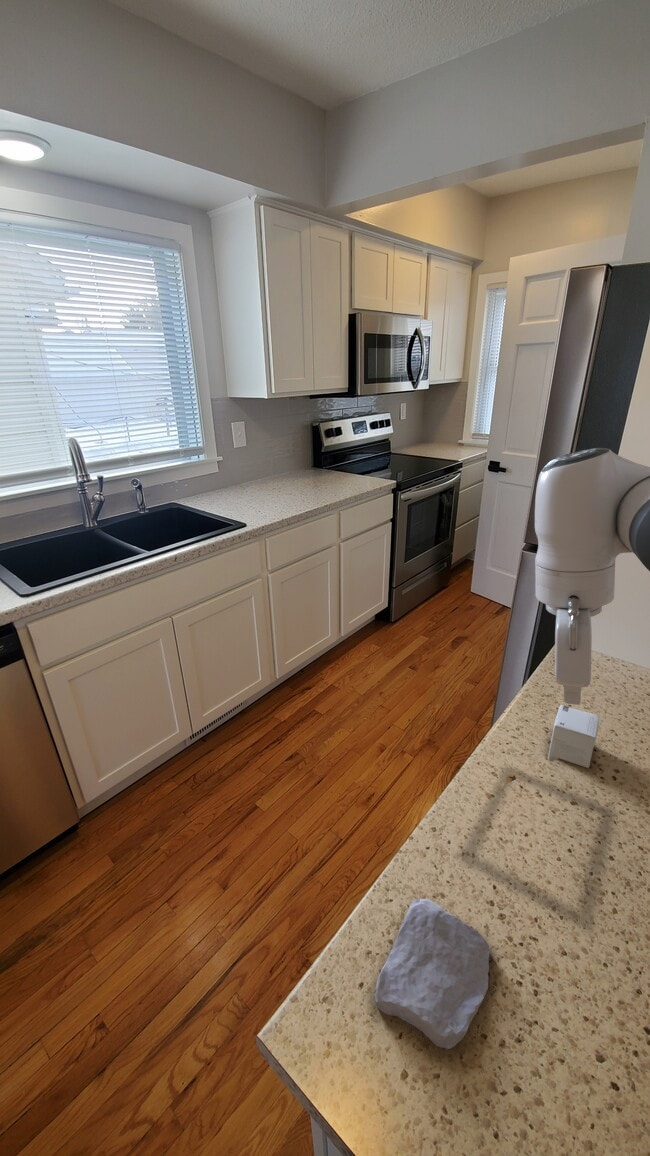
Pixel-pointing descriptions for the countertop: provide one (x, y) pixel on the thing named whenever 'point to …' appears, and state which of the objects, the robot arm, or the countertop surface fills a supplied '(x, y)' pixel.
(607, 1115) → the countertop surface
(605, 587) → the robot arm
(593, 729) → the product carton
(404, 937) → the stone block
